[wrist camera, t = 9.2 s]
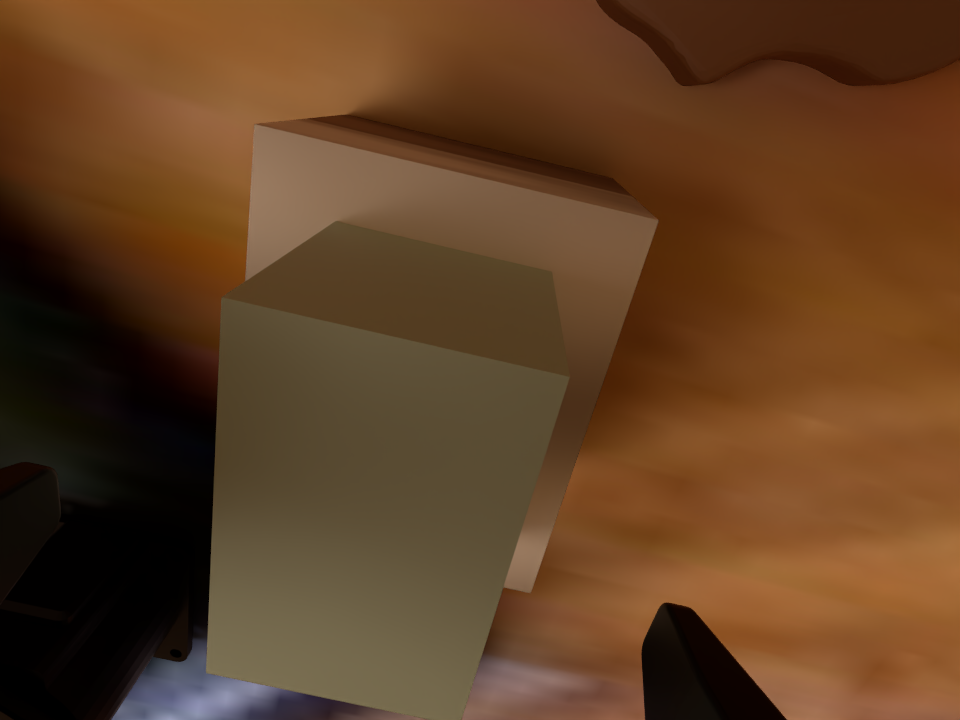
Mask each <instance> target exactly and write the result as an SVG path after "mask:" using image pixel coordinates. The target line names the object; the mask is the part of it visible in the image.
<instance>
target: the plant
mask: <svg viewBox="0 0 960 720" xmlns="http://www.w3.org/2000/svg"><path fill="white" fill-rule="evenodd" d="M596 1H597V3H598V4H599V6H600V7H601V8H602V10H603V11H604V12H605V13H606V14H607V15H608V16H609V17H610V18H612V19H613V20H614V21H615V22H617V23H618V24H619V25H621V26H623V27H624V28H626V29H627V30H629V31H631V32H632V33H634V34H635V35H637V36H638V37H640V38H641V39H642V40H643V41H644V42H645V43H647V44H648V45H649V46H650V47H651V49H652V50H653V51H654V52H655V54H656V55H657V56H658V57H659V58H660V60H661V61H662V62H663V63H664V64H665V66H666V67H667V68H668V69H669V71H670V72H671V74H672V75H673V77H674V78H675V80H676V81H677V82H678V83H679V84H680V85H683V86H691V85H700V84H707V83H712V82H714V81H716V80H718V79H720V78H722V77H724V76H725V75H727V74H729V73H731V72H733V71H734V70H736V69H738V68H740V67H742V66H744V65H746V64H749V63H751V62H754V61H758V60H765V59H774V60H785V61H791V62H797V63H800V64H804V65H807V66H809V67H812V68H814V69H816V70H819V71H820V72H822V73H824V74H826V75H827V76H829V77H831V78H833V79H834V80H836V81H838V82H840V83H843V84H846V85H851V86H866V85H885V84H894V83H898V82H902V81H906V80H910V79H915V78H917V77H920V76H923V75H926V74H929V73H931V72H934V71H937V70H939V69H941V68H943V67H945V66H947V65H949V64H951V63H953V62H956V61H958V60H960V0H596Z"/></svg>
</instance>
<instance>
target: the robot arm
mask: <svg viewBox="0 0 960 720" xmlns="http://www.w3.org/2000/svg"><path fill="white" fill-rule="evenodd" d="M178 552H179V553H178ZM180 553H181V554H180ZM194 559H195V552H194V548H193V547H192V545H191V544H190V543H188V542H186V541H184V540H180V539H176V538H171V537H166V536H162V535H157V534H152V533H148V532H143V531H139V530H134V529H129V528H125V527H120V526H115V525H111V524H106V523H101V522H97V521H92V520H88V519H83V518H78V517H74V516H69V515H64V514H61V505H60V495H59V484H58V476H57V473H56V471H55V470H54V469H53V468H51V467H48V466H43V465H39V464H34V463H29V462H21V463H17V464H14V465H11V466H8V467H5V468H2V469H0V720H111V719H112V718H113V716H114V715H115V713H116V712H117V710H118V709H119V707H120V706H121V704H122V703H123V701H124V700H125V698H126V697H127V695H128V694H129V692H130V691H131V689H132V688H133V686H134V684H135V683H136V681H137V680H138V678H139V677H140V675H141V674H142V672H143V671H144V669H145V668H146V666H147V665H148V663H149V662H150V660H151V659H152V657H157V658H162V659H166V660H171V661H176V662H181V661H184V660H186V659H187V657H188V655H189V654H190V652H191V650H192V635H193V597H194ZM642 672H643V690H644V707H645V720H787V719H786V718H785V717H784V716H783V715H782V713H781V712H780V711H779V710H778V709H777V707H776V706H775V705H774V704H773V703H772V702H771V700H770V699H769V698H768V697H767V696H766V695H765V693H764V692H763V691H762V690H761V689H760V688H759V686H758V685H757V684H756V683H755V682H754V680H753V679H752V678H751V677H750V676H749V675H748V673H747V672H746V671H745V670H744V669H743V668H742V666H741V665H740V664H739V663H738V662H737V661H736V659H735V658H734V657H733V656H732V655H731V653H730V652H729V651H728V650H727V649H726V648H725V646H724V645H723V644H722V643H721V642H720V641H719V639H718V638H717V637H716V636H715V635H714V634H713V632H712V631H711V630H710V629H709V628H708V626H707V625H706V624H705V623H704V622H703V621H702V619H701V618H700V617H699V616H698V615H697V614H696V612H695V611H694V610H692V609H691V608H689V607H686V606H682V605H677V604H672V603H664V604H662V605H661V606H660V608H659V609H658V611H657V613H656V615H655V618H654V620H653V622H652V624H651V626H650V628H649V630H648V632H647V634H646V637H645V639H644V642H643V646H642Z"/></svg>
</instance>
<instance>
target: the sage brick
mask: <svg viewBox="0 0 960 720" xmlns="http://www.w3.org/2000/svg"><path fill="white" fill-rule="evenodd" d="M569 378H570V375H569V369H568V363H567V357H566V351H565V346H564V340H563V334H562V328H561V322H560V316H559V311H558V305H557V299H556V293H555V287H554V281H553V275H552V272H551V271H547V270H542V269H538V268H534V267H530V266H525V265H521V264H517V263H513V262H508V261H504V260H500V259H495V258H491V257H487V256H483V255H478V254H474V253H470V252H466V251H461V250H457V249H453V248H449V247H444V246H440V245H436V244H431V243H427V242H423V241H419V240H414V239H410V238H406V237H402V236H397V235H393V234H389V233H384V232H380V231H376V230H372V229H367V228H363V227H359V226H355V225H350V224H346V223H342V222H338V221H335V222H333V223H332V224H330V225H329V226H327V227H326V228H324V229H323V230H321V231H320V232H318V233H317V234H315V235H314V236H312V237H311V238H310V239H308V240H307V241H305V242H304V243H302V244H301V245H299V246H298V247H296V248H295V249H293V250H292V251H290V252H289V253H287V254H286V255H284V256H283V257H281V258H280V259H278V260H277V261H275V262H274V263H272V264H271V265H269V266H268V267H266V268H265V269H263V270H262V271H260V272H259V273H257V274H256V275H254V276H253V277H251V278H250V279H248V280H247V281H245V282H244V283H242V284H241V285H239V286H238V287H236V288H235V289H233V290H232V291H230V292H229V293H227V294H226V295H224V296H223V297H222V301H221V325H220V350H219V374H218V398H217V422H216V446H215V470H214V495H213V519H212V543H211V567H210V591H209V615H208V640H207V664H206V673H209V674H214V675H218V676H223V677H228V678H233V679H238V680H242V681H247V682H252V683H257V684H261V685H266V686H271V687H276V688H281V689H285V690H290V691H295V692H300V693H304V694H309V695H314V696H319V697H324V698H328V699H333V700H338V701H343V702H347V703H352V704H357V705H362V706H366V707H371V708H376V709H381V710H386V711H390V712H395V713H400V714H405V715H409V716H414V717H419V718H424V719H429V720H461V719H462V716H463V713H464V710H465V707H466V703H467V700H468V697H469V694H470V691H471V688H472V684H473V681H474V678H475V675H476V672H477V669H478V666H479V662H480V659H481V656H482V653H483V650H484V647H485V643H486V640H487V637H488V634H489V631H490V628H491V624H492V621H493V618H494V615H495V612H496V609H497V606H498V602H499V599H500V596H501V593H502V590H503V587H504V583H505V580H506V577H507V574H508V571H509V568H510V564H511V561H512V558H513V555H514V552H515V549H516V546H517V542H518V539H519V536H520V533H521V530H522V527H523V523H524V520H525V517H526V514H527V511H528V508H529V504H530V501H531V498H532V495H533V492H534V489H535V486H536V482H537V479H538V476H539V473H540V470H541V467H542V463H543V460H544V457H545V454H546V451H547V448H548V445H549V441H550V438H551V435H552V432H553V429H554V426H555V422H556V419H557V416H558V413H559V410H560V407H561V403H562V400H563V397H564V394H565V391H566V388H567V385H568V381H569Z"/></svg>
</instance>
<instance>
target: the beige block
mask: <svg viewBox="0 0 960 720" xmlns="http://www.w3.org/2000/svg"><path fill="white" fill-rule="evenodd" d="M335 221H338V222H342V223H346V224H350V225H355V226H359V227H363V228H367V229H372V230H376V231H380V232H384V233H389V234H393V235H397V236H402V237H406V238H410V239H414V240H419V241H423V242H427V243H431V244H436V245H440V246H444V247H449V248H453V249H457V250H461V251H466V252H470V253H474V254H478V255H483V256H487V257H491V258H495V259H500V260H504V261H508V262H513V263H517V264H521V265H525V266H530V267H534V268H538V269H542V270H547V271H551V272H552V275H553V281H554V287H555V293H556V299H557V305H558V311H559V316H560V322H561V328H562V334H563V340H564V346H565V351H566V357H567V363H568V369H569V375H570V378H569V381H568V385H567V388H566V391H565V394H564V397H563V400H562V403H561V407H560V410H559V413H558V416H557V419H556V422H555V426H554V429H553V432H552V435H551V438H550V441H549V445H548V448H547V451H546V454H545V457H544V460H543V463H542V467H541V470H540V473H539V476H538V479H537V482H536V486H535V489H534V492H533V495H532V498H531V501H530V504H529V508H528V511H527V514H526V517H525V520H524V523H523V527H522V530H521V533H520V536H519V539H518V542H517V546H516V549H515V552H514V555H513V558H512V561H511V564H510V568H509V571H508V574H507V577H506V580H505V583H504V588H509V589H514V590H518V591H523V592H527V593H531V591H532V588H533V585H534V582H535V579H536V576H537V573H538V570H539V567H540V564H541V561H542V559H543V556H544V553H545V550H546V547H547V544H548V541H549V538H550V535H551V532H552V530H553V527H554V524H555V521H556V518H557V515H558V512H559V509H560V506H561V503H562V500H563V498H564V495H565V492H566V489H567V486H568V483H569V480H570V477H571V474H572V471H573V468H574V466H575V463H576V460H577V457H578V454H579V451H580V448H581V445H582V442H583V439H584V436H585V434H586V431H587V428H588V425H589V422H590V419H591V416H592V413H593V410H594V407H595V405H596V402H597V399H598V396H599V393H600V390H601V387H602V384H603V381H604V378H605V375H606V373H607V370H608V367H609V364H610V361H611V358H612V355H613V352H614V349H615V346H616V343H617V341H618V338H619V335H620V332H621V329H622V326H623V323H624V320H625V317H626V314H627V311H628V309H629V306H630V303H631V300H632V297H633V294H634V291H635V288H636V285H637V282H638V280H639V277H640V274H641V271H642V268H643V265H644V262H645V259H646V256H647V253H648V250H649V248H650V245H651V242H652V239H653V236H654V233H655V230H656V227H657V224H658V221H659V220H658V219H657V218H656V217H655V216H654V215H652V214H651V213H650V212H649V211H648V210H647V209H646V208H645V207H644V206H642V205H641V204H640V203H639V202H638V201H637V200H636V199H635V198H634V197H633V196H631V195H630V194H629V193H628V192H627V191H626V190H625V189H624V188H623V187H621V186H620V185H619V184H618V183H617V182H616V181H615V180H614V179H613V178H609V177H604V176H600V175H596V174H592V173H588V172H584V171H579V170H575V169H571V168H567V167H563V166H559V165H554V164H550V163H546V162H542V161H538V160H534V159H529V158H525V157H521V156H517V155H513V154H509V153H504V152H500V151H496V150H492V149H488V148H483V147H479V146H475V145H471V144H467V143H463V142H458V141H454V140H450V139H446V138H442V137H438V136H433V135H429V134H425V133H421V132H417V131H413V130H408V129H404V128H400V127H396V126H392V125H388V124H383V123H379V122H375V121H371V120H367V119H363V118H358V117H354V116H350V115H337V116H328V117H318V118H308V119H298V120H289V121H279V122H269V123H260V124H254V141H253V159H252V176H251V193H250V210H249V227H248V245H247V262H246V279H245V281H247V280H248V279H250V278H251V277H253V276H254V275H256V274H257V273H259V272H260V271H262V270H263V269H265V268H266V267H268V266H269V265H271V264H272V263H274V262H275V261H277V260H278V259H280V258H281V257H283V256H284V255H286V254H287V253H289V252H290V251H292V250H293V249H295V248H296V247H298V246H299V245H301V244H302V243H304V242H305V241H307V240H308V239H310V238H311V237H312V236H314V235H315V234H317V233H318V232H320V231H321V230H323V229H324V228H326V227H327V226H329V225H330V224H332V223H333V222H335Z"/></svg>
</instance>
